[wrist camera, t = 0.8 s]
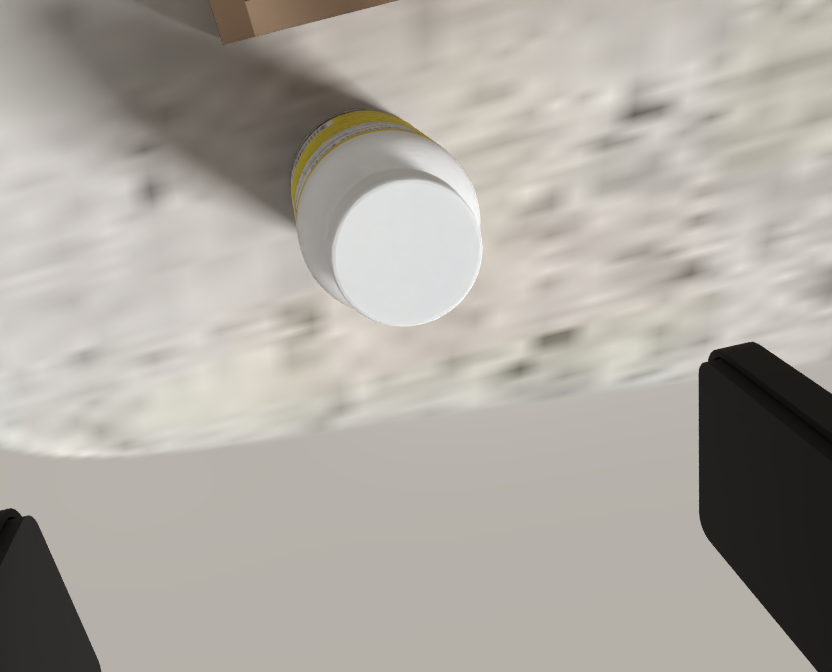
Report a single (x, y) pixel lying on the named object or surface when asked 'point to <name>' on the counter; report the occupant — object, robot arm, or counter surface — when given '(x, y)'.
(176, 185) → the counter surface
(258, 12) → the box
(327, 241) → the supplement bottle
